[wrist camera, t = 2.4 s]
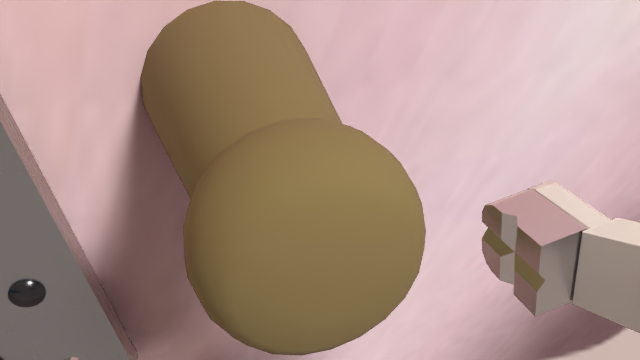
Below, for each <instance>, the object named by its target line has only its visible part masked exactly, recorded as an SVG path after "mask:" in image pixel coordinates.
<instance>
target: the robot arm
mask: <svg viewBox="0 0 640 360" xmlns="http://www.w3.org/2000/svg"><path fill="white" fill-rule="evenodd" d="M482 222H483V223H484V224H485V225H486V226H487V227H488V229H487V231H486V232H485V234H484V236H483V237H482V251H483V254H484V257H485V260H486V263H487V265H488V266H489V268H490V269H491V271H492V272H493V273H494V274H495V275H496V277H497V278H498V279H499V280H501V281H504V282H507V283H510V284H513V291H514V295H515V296H516V297H517V298H518V299H519V300H520V301H521V302H522V303H523V304H524V305H525V306H526V307H527V308H528V310H529V311H530V312H531V313H532V314H533V315H534V316H537V315H540V314H542V313H545V312H547V311H550V310H553V309H555V308H558V307H560V306H563V305H565V304H568V303H571V302H572V304H573V305H576V306H578V307H580V308H583V309H585V310H587V311H590V312H592V313H594V314H597V315H599V316H601V317H604V318H606V319H608V320H611V321H613V322H615V323H617V324H620V325H622V326H624V327H627V328H629V329H631V330H634V331H636V332H638V333H640V222H635V221H631V220H626V219H621V218H615V219H613V220H610V219H609V218H607V217H606V216H604V215H603V214H602V213H600V212H599V211H597V210H596V209H594V208H593V207H591V206H590V205H588V204H587V203H586V202H584V201H583V200H581V199H580V198H578V197H577V196H575V195H574V194H572V193H571V192H570V191H568V190H567V189H565V188H564V187H562V186H561V185H559V184H558V183H556V182H553V181H546V182H544V183H541V184H539V185H536V186H533V187H531V188H528V189H527V190H524V191H521V192H518V193H516V194H513V195H510V196H508V197H505V198H503V199H500V200H497V201H495V202H492V203H489V204H487V205H485V206H484V209H483V211H482ZM64 360H78V358H77V357H70V358H67V359H64Z"/></svg>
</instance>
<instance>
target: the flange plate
mask: <svg viewBox="0 0 640 360" xmlns="http://www.w3.org/2000/svg"><path fill="white" fill-rule="evenodd" d="M70 357H77V358H78V360H138V354H137V352H136V350H135V349H134V347H133V345H132V343H131V341H130V339H129V337H128V335H127V333H126V331H125V330H124V328H123V326H122V324H121V322H120V320H119V318H118V316H117V314H116V313H115V311H114V309H113V307H112V305H111V303H110V301H109V299H108V297H107V296H106V294H105V292H104V290H103V288H102V286H101V284H100V282H99V280H98V278H97V277H96V275H95V273H94V271H93V269H92V267H91V265H90V263H89V261H88V260H87V258H86V256H85V254H84V252H83V250H82V248H81V246H80V244H79V242H78V241H77V239H76V237H75V235H74V233H73V231H72V229H71V227H70V225H69V224H68V222H67V220H66V218H65V216H64V214H63V212H62V210H61V208H60V207H59V205H58V203H57V201H56V199H55V197H54V195H53V193H52V191H51V189H50V188H49V186H48V184H47V182H46V180H45V178H44V176H43V174H42V172H41V171H40V169H39V167H38V165H37V163H36V161H35V159H34V157H33V155H32V154H31V152H30V150H29V148H28V146H27V144H26V142H25V140H24V138H23V136H22V135H21V133H20V131H19V129H18V127H17V125H16V123H15V121H14V119H13V118H12V116H11V114H10V112H9V110H8V108H7V106H6V104H5V102H4V100H3V99H2V97H1V95H0V360H64V359H67V358H70Z"/></svg>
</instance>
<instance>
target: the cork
mask: <svg viewBox="0 0 640 360" xmlns="http://www.w3.org/2000/svg"><path fill="white" fill-rule="evenodd" d="M141 85H142V96H143V104H144V107H145V109H146V111H147V113H148V115H149V117H150V120H151V122H152V124H153V126H154V128H155V130H156V132H157V134H158V136H159V138H160V140H161V142H162V144H163V146H164V148H165V150H166V152H167V154H168V156H169V157H170V159H171V161H172V163H173V165H174V167H175V169H176V171H177V173H178V175H179V177H180V179H181V181H182V183H183V185H184V187H185V189H186V191H187V193H188V195H189V197H190V198H191V202H190V205H189V208H188V211H187V215H186V219H185V222H184V226H183V236H184V254H185V264H186V270H187V277H188V279H189V281H190V283H191V285H192V287H193V289H194V291H195V293H196V295H197V297H198V299H199V301H200V303H201V304H202V306H203V308H204V309H205V311H206V312H207V314H208V316H209V317H210V319H211V320H212V321H214V322H215V323H216V324H217V325H219V326H220V327H221V328H222V329H223V330H225V331H226V332H227V333H228V334H230V335H231V336H232V337H233V338H235V339H237V340H239V341H240V342H242V343H244V344H245V345H247V346H250V347H253V348H256V349H259V350H262V351H265V352H268V353H271V354H283V355H305V354H310V353H315V352H320V351H325V350H330V349H333V348H335V347H338V346H340V345H342V344H345V343H347V342H349V341H352V340H354V339H356V338H359V337H360V336H362V335H363V334H365V333H366V332H368V331H369V330H370V329H372V328H373V327H375V326H376V325H378V324H379V323H380V322H382V321H383V320H385V319H386V318H387V317H388V315H389V314H390V313H391V312H392V311H393V310H394V309H395V308H396V307H397V306H398V305H399V304H400V302H401V301H402V300H403V299H404V298H405V297H406V295H407V293H408V291H409V290H410V288H411V286H412V284H413V282H414V281H415V279H416V277H417V275H418V273H419V269H420V265H421V260H422V256H423V251H424V245H425V234H426V229H425V222H424V215H423V208H422V203H421V200H420V198H419V195H418V193H417V190H416V188H415V186H414V184H413V183H412V181H411V179H410V178H409V176H408V174H407V173H406V171H405V169H404V168H403V166H402V165H401V163H400V162H399V161H398V160H397V159H396V158H395V157H394V155H393V154H392V153H391V152H390V151H389V150H387V149H386V148H385V147H383V146H382V145H381V144H379V143H378V142H376V141H375V140H374V139H372V138H371V137H369V136H368V135H367V134H365V133H364V132H362V131H360V130H357V129H355V128H352V127H350V126H347V125H343V124H342V122H341V120H340V118H339V116H338V114H337V112H336V110H335V108H334V106H333V104H332V102H331V100H330V98H329V96H328V94H327V92H326V90H325V88H324V86H323V84H322V82H321V80H320V78H319V76H318V74H317V72H316V70H315V68H314V66H313V64H312V62H311V60H310V58H309V56H308V54H307V52H306V50H305V48H304V46H303V45H302V43H301V42H300V40H299V39H298V37H297V36H296V34H295V33H294V31H293V29H292V28H291V27H290V26H289V25H288V24H287V23H285V22H284V21H283V20H282V19H280V18H279V17H278V16H276V15H275V14H274V13H273V12H271V11H270V10H267V9H265V8H262V7H259V6H256V5H253V4H250V3H247V2H245V1H213V2H210V3H207V4H204V5H201V6H198V7H195V8H192V9H188V10H186V11H185V12H184V13H182V14H181V15H180V16H178V17H177V18H176V19H174V20H173V21H172V22H170V23H169V24H168V25H166V26H165V27H164V28H163V29H162V31H161V32H160V34H159V35H158V37H157V38H156V40H155V41H154V42H153V44H152V45H151V47H150V48H149V50H148V52H147V56H146V60H145V63H144V67H143V71H142V75H141Z"/></svg>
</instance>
